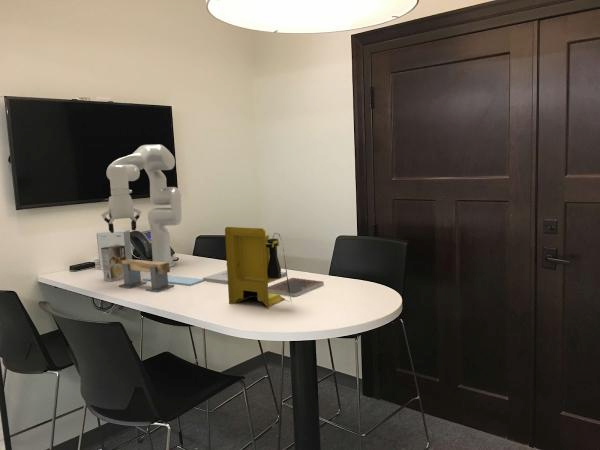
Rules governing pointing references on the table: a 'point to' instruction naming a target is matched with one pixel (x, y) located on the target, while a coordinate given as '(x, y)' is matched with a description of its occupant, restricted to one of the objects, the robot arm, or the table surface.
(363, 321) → the table surface
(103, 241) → the hard drive box
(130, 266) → the rail
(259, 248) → the vintage telephone
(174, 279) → the pad
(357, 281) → the table surface
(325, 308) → the table surface
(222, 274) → the award plaque
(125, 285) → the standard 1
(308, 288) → the picture frame
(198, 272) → the table surface
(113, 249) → the coffee box
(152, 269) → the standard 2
